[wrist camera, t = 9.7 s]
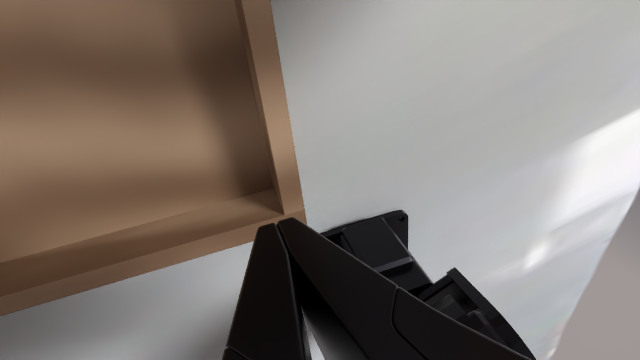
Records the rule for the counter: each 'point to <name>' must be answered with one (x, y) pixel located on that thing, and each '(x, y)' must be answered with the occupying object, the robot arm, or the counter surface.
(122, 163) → the walnut box
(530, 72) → the counter surface
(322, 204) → the counter surface
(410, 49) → the counter surface
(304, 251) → the robot arm
